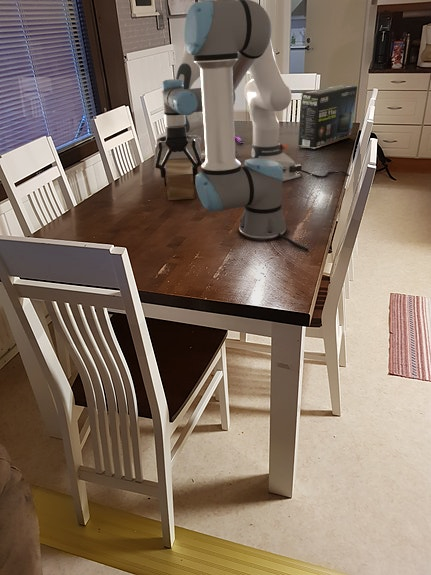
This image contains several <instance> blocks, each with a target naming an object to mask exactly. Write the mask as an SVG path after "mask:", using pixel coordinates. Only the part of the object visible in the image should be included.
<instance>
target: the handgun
mask: <svg viewBox="0 0 431 575" xmlns="http://www.w3.org/2000/svg"><path fill="white" fill-rule="evenodd" d="M235 137H236V136H235ZM236 138H237V139H238V140H239V141H240V142H244V141H243V140H242V138H241V137H239V136H238V137H236ZM237 139H235V141H237V142H238V143H239V141H238V140H237ZM239 145H241V146H242V145H244V143H239Z"/></svg>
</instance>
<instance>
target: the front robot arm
mask: <svg viewBox="0 0 431 575" xmlns="http://www.w3.org/2000/svg"><path fill="white" fill-rule="evenodd" d="M184 21H185V23H184V29H183V30H184V32H183V36H184V38H183V39H184V42H185V45H186V50H187V52H188V53H189V54H191V55H194V63H195V64H196V65H197V66H198V67H199V68H200V73H201V76H200V86H201V87H196V88H195V87H194V88H191V89H184V87H183V81H182V80H179V79H176V78H174V79H173V78H172V79H165V80H163V81H162V82H161V95H162V102H163V115H164V116H163V117H164V125H165V132H166V141H162V142H161V141H159V151H158V155H157V160H156V159H155V165H154V166H155V167H154V168H155V169H159V170H160V177H161V178H162V179H163V180H164V181H163V182H164V187H166V188H167V185H166V162H167V160H168V159H169V157H170V155H171V153H172V152H182V151H183V152H184V153H185V154H186V156H187V157H188V159H189V160H190V162H191V163H192V171H193V183H194V186H195V189H196V193H197V196H198V198H199V201H200V203H201V205H202V206H203V208H204V209H205V211H206V210H207V211H208V212H210V213H211V212H212V213H213V212H223V211H227V210H231V209H236V208H241V207H244V211H243V213H242V216H241V218H240V220H239V226H238V232H239V235H240V236H241V237H242V238H244V239H247V240H250V241H254V242H271V241H277V240H279V239H283V240H285V241H286V242H288V243H289V244H291V245H293V246H294V247H296V248H298V249H300V250H303V251H305V252H308V251H309V247H306V246H303V245H302V244H299V243H297V242H295V241H294V240H292V239H291V238H288V237H287V236H286V234H287V223H286V221H285V216H284V214H283V210H282V200H283V182H284V181H283V169H282V166H281V165H280V164H279V163H277V162H275V161H272V160H267V159H256V158H255V159H252V158H247V159H245V160H244V163H243V166H242V163H241V162H240V161H239V160H238V159H237V157H236V154H235V148H236V140H235V134H236V133H235V131H236V130H235V104H236V103H235V101H236V90H237V88H238V87H239V85H240V84H241V82H242V80H243V79H244V78H245V76H246V74H247V73H248V72H249V71H248V70H249V68H250V67H251V65H252V64H253V62H254V61H255V59H257V58H259V57H261V56H262V55H263V53H264V52H265V50H266V49H267V47H268V45H269V43H270V39H271V38H272V30H273V29H272V28H273V27H272V23H271V18H270V17H269V14H268V12H267V11H266V10H265V8H264V7H263V6H262V4H261V5H260V4H259V3H258V2H256V1H254V0H203V1H196V2H194V3H192V4H191V6H190V7H189V9H188V10H187V14H186V16H185V20H184ZM271 40H272V39H271ZM202 111H203V119H204V126H203V133H204V147H205V149H204V151H206V160H205V159H204V161H203V162H202V160H201V159H202V158H201V157H199V154H198V151H197V149H196V146H195V139H192V140H188V139H187V136H188V134H187V135H186V126H185V124H186V120H185V115H191V114H193V113H194V112H202ZM166 126H167V127H166ZM188 143H189V144H190V146H192V148H193V151H194V153H195V156H196V158H193V157H192V156H191V155H190V153H189V152H188V150H187V149H186V146H187V144H188ZM165 144H166V145H167V146H168V148H169V149H168V152H167V154H166V156H165V158H164V160H162V162H161V164H160V161H161V160H160V158H161V153H162V148H163V147H164V145H165ZM195 159H196V160H195ZM196 161H197V162H196ZM199 167H201V169H200V170H201V172H199V173H198V168H199Z"/></svg>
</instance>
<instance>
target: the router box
mask: <svg viewBox="0 0 431 575" xmlns="http://www.w3.org/2000/svg"><path fill="white" fill-rule="evenodd" d="M357 93H358V86H356V85H350V84H339V85H338V84H337V85H334V86H328V87H324V88H318V89H314V90H309V91H304V92H301V93H300V109H299V110H300V111H299V124H298V137H297V146H298V145H302V146H307V147H317V146H320V145H323V144H325V143H328V142H331V141H333V140H336V139H338V138H341V137H344V136H347V135H351V136H352V133H353V132H352V131H353V125H354V115H355V109H356V99H357ZM311 151H313V150H312V149H311Z"/></svg>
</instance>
